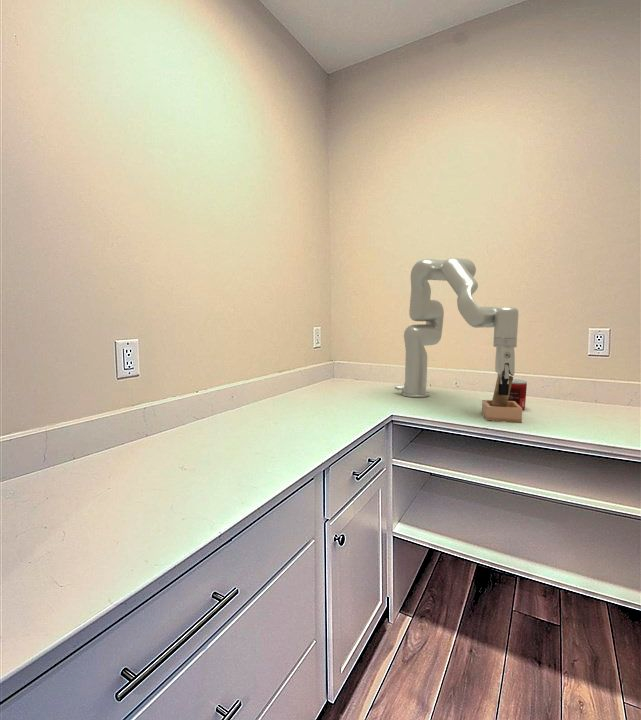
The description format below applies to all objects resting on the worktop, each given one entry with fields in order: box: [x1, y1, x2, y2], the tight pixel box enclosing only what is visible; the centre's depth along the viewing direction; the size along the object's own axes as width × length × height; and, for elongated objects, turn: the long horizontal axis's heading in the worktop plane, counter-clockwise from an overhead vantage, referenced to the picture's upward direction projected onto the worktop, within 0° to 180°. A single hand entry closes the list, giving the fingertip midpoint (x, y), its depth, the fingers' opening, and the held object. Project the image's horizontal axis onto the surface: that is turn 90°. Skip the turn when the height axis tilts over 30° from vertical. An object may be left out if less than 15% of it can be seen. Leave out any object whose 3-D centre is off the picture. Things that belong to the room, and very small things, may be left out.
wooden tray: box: [481, 399, 523, 424], centre depth 152 cm, size 11×11×5 cm
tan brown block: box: [491, 373, 514, 407], centre depth 151 cm, size 4×3×12 cm, turn 78°
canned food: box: [508, 378, 528, 411], centre depth 165 cm, size 8×8×11 cm
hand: (502, 393), depth 151 cm, fingers closed on tan brown block, 2 cm apart
